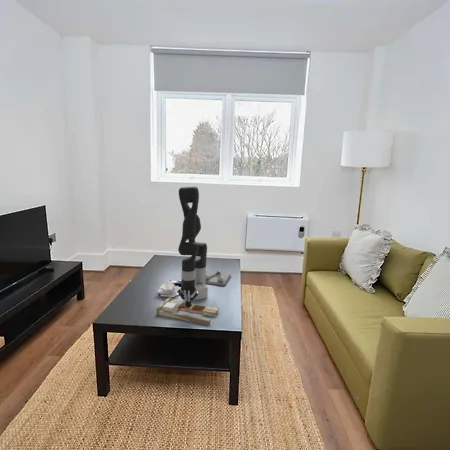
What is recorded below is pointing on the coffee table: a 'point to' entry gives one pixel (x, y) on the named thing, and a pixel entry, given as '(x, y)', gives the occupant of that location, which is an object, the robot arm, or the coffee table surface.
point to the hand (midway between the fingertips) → (188, 306)
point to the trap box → (193, 308)
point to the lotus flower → (168, 290)
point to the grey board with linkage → (217, 278)
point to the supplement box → (201, 291)
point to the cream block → (170, 307)
